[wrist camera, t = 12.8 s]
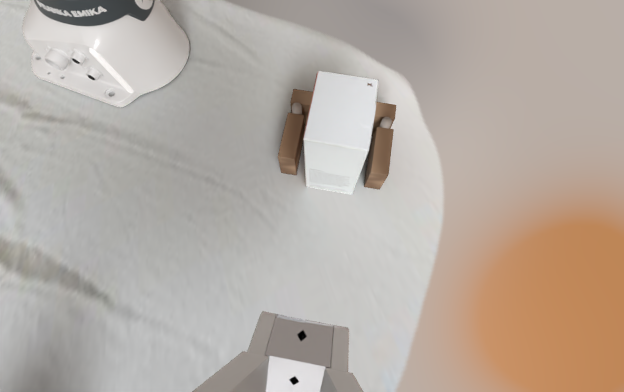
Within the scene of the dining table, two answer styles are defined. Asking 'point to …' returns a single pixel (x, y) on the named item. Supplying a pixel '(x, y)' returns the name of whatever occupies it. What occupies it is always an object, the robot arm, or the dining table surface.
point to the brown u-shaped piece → (377, 150)
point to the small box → (338, 130)
